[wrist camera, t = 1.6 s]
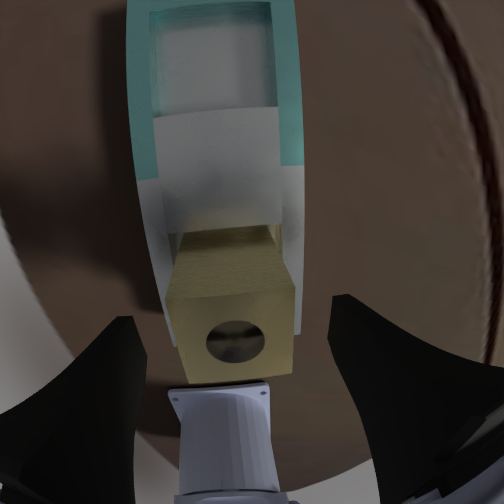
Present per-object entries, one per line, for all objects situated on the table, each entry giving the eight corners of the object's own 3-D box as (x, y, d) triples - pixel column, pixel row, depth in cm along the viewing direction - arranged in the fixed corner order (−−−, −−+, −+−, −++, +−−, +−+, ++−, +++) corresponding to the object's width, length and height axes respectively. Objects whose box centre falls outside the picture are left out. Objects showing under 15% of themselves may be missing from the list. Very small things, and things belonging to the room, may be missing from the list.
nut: (268, 291, 16) (292, 373, 10) (195, 299, 15) (189, 383, 10) (265, 222, 14) (295, 287, 9) (184, 230, 14) (164, 300, 8)
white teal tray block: (289, 305, 18) (300, 334, 15) (178, 316, 17) (173, 346, 15) (278, 0, 10) (290, -22, 8) (142, 11, 10) (127, -8, 7)
